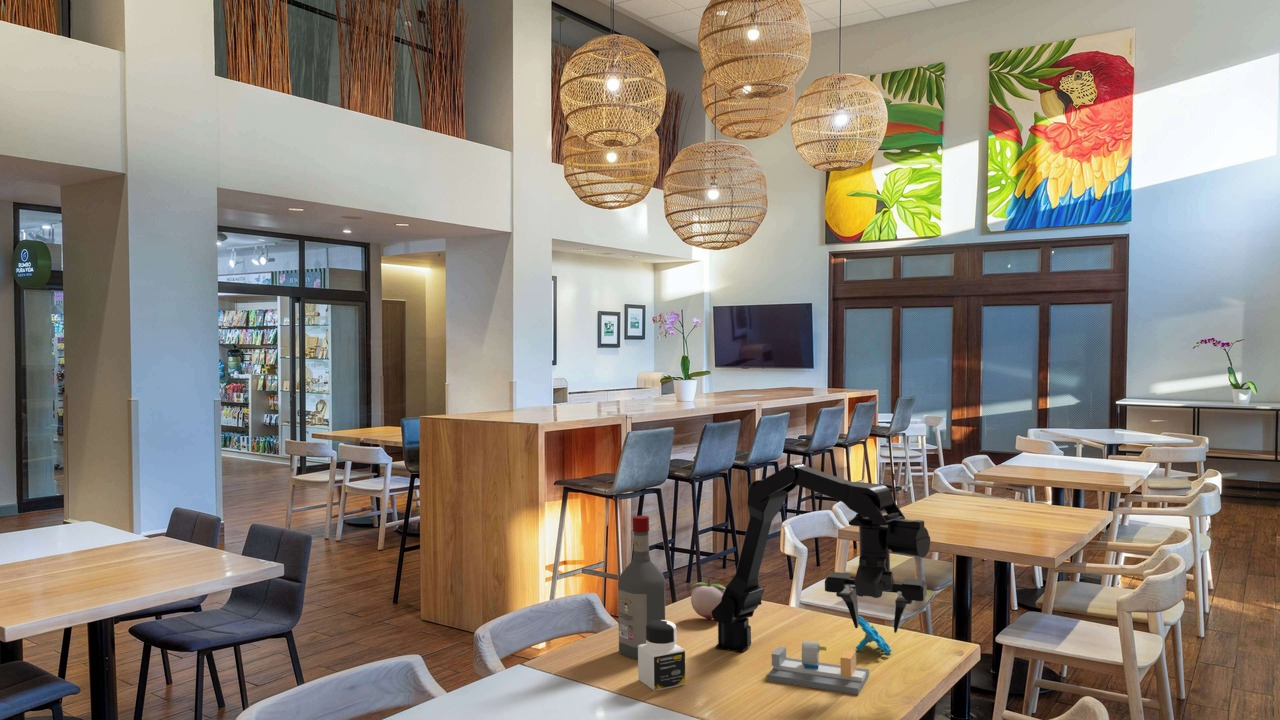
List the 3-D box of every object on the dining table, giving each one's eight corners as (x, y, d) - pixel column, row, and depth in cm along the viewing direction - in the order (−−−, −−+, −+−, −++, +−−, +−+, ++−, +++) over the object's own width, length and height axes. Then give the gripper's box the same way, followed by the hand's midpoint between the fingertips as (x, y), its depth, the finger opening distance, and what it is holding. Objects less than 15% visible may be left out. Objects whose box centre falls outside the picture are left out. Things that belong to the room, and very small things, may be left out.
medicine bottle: (654, 692, 163) (653, 630, 163) (637, 679, 169) (636, 620, 170) (686, 685, 166) (685, 624, 167) (668, 673, 173) (667, 615, 173)
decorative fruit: (688, 624, 205) (688, 583, 205) (692, 614, 213) (691, 575, 213) (727, 626, 204) (726, 584, 204) (729, 616, 212) (728, 576, 212)
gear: (893, 653, 178) (858, 616, 181) (873, 672, 179) (838, 635, 182) (894, 644, 189) (861, 609, 192) (875, 662, 189) (842, 627, 192)
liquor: (640, 663, 179) (638, 522, 179) (613, 652, 186) (611, 517, 186) (671, 653, 185) (670, 517, 185) (644, 643, 192) (642, 511, 192)
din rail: (767, 680, 168) (767, 658, 168) (782, 662, 178) (782, 642, 178) (858, 694, 160) (858, 671, 160) (869, 675, 170) (868, 653, 170)
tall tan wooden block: (840, 675, 165) (840, 657, 165) (846, 667, 169) (845, 649, 169) (850, 677, 164) (850, 658, 164) (856, 668, 168) (855, 650, 169)
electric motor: (826, 674, 166) (825, 648, 166) (801, 672, 167) (801, 646, 167) (827, 662, 173) (826, 637, 173) (803, 660, 174) (803, 636, 174)
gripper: (817, 554, 161) (818, 636, 161) (918, 563, 153) (920, 648, 153) (830, 543, 171) (832, 620, 171) (926, 550, 163) (928, 631, 163)
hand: (876, 629), depth 164 cm, fingers open, 7 cm apart
